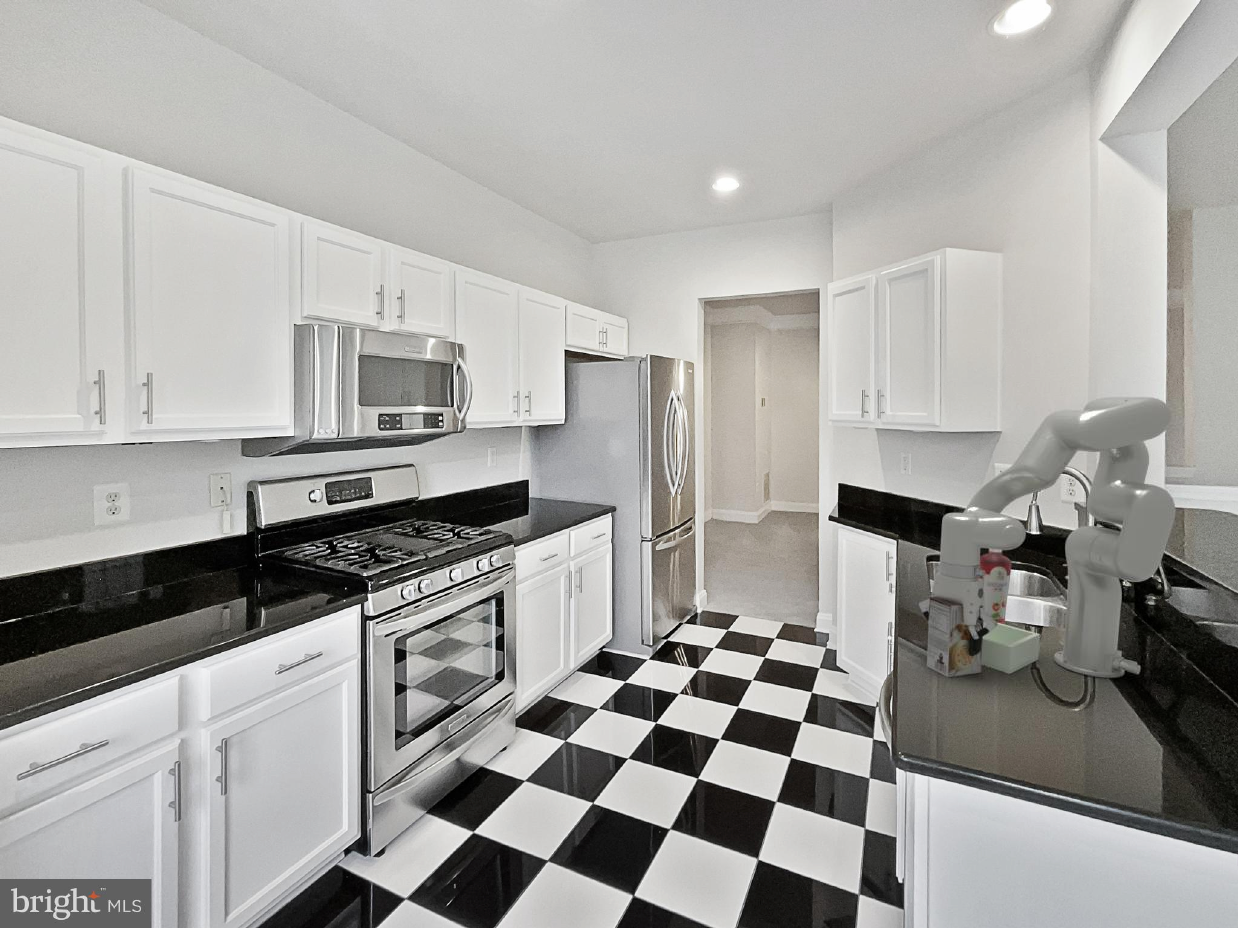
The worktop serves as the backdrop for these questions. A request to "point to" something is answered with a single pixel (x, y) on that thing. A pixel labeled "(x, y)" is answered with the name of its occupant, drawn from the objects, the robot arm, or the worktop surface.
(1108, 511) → the robot arm
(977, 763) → the worktop surface
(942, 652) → the coffee box
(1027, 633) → the bin
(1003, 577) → the liquor
